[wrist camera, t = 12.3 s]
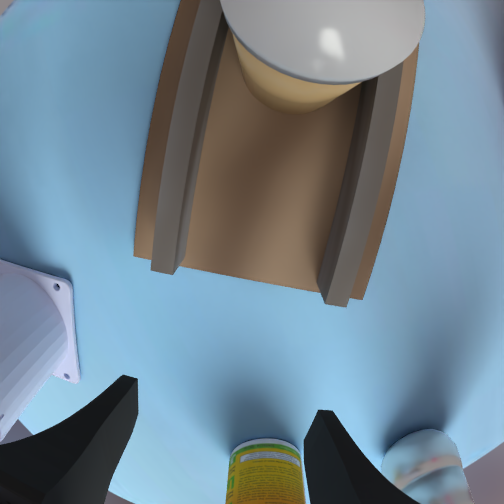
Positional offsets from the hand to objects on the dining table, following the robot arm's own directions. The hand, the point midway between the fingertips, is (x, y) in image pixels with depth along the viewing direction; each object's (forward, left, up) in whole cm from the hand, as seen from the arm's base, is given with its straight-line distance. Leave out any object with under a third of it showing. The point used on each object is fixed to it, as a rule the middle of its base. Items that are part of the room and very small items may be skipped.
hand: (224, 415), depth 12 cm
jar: (0, +14, -6) cm, 15 cm away
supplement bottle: (+4, -11, -7) cm, 13 cm away
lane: (0, +12, -6) cm, 14 cm away
